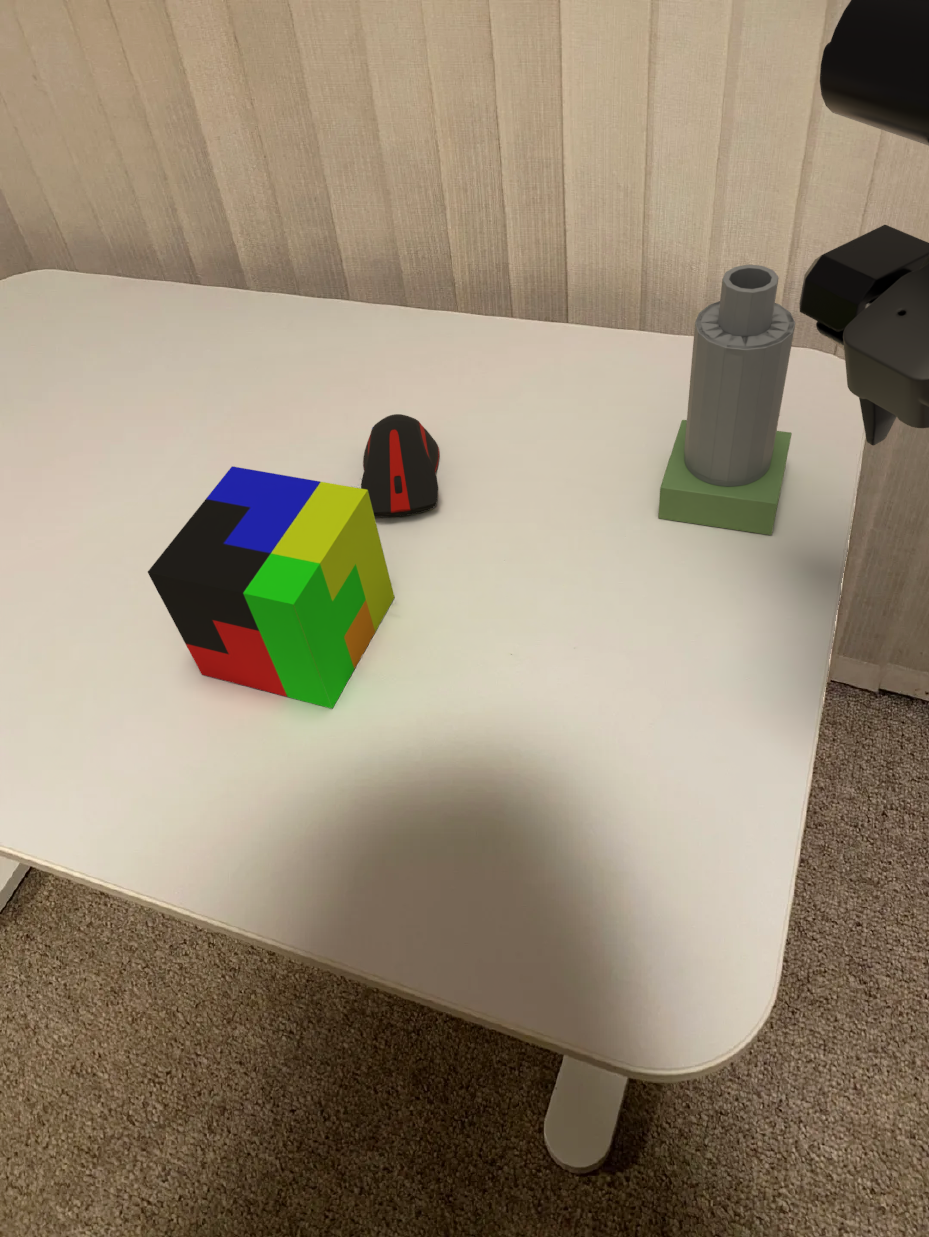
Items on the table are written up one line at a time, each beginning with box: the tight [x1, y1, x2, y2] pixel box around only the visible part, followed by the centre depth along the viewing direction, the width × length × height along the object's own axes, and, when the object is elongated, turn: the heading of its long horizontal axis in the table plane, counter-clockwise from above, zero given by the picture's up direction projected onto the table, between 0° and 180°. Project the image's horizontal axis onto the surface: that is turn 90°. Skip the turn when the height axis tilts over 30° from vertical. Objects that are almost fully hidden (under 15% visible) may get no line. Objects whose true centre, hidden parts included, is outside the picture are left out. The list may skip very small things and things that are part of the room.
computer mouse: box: [360, 413, 440, 518], centre depth 72 cm, size 6×11×4 cm, turn 4°
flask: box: [684, 264, 796, 487], centre depth 61 cm, size 6×6×14 cm
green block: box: [657, 419, 792, 536], centre depth 68 cm, size 8×8×3 cm
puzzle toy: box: [147, 465, 396, 710], centre depth 60 cm, size 10×10×10 cm
